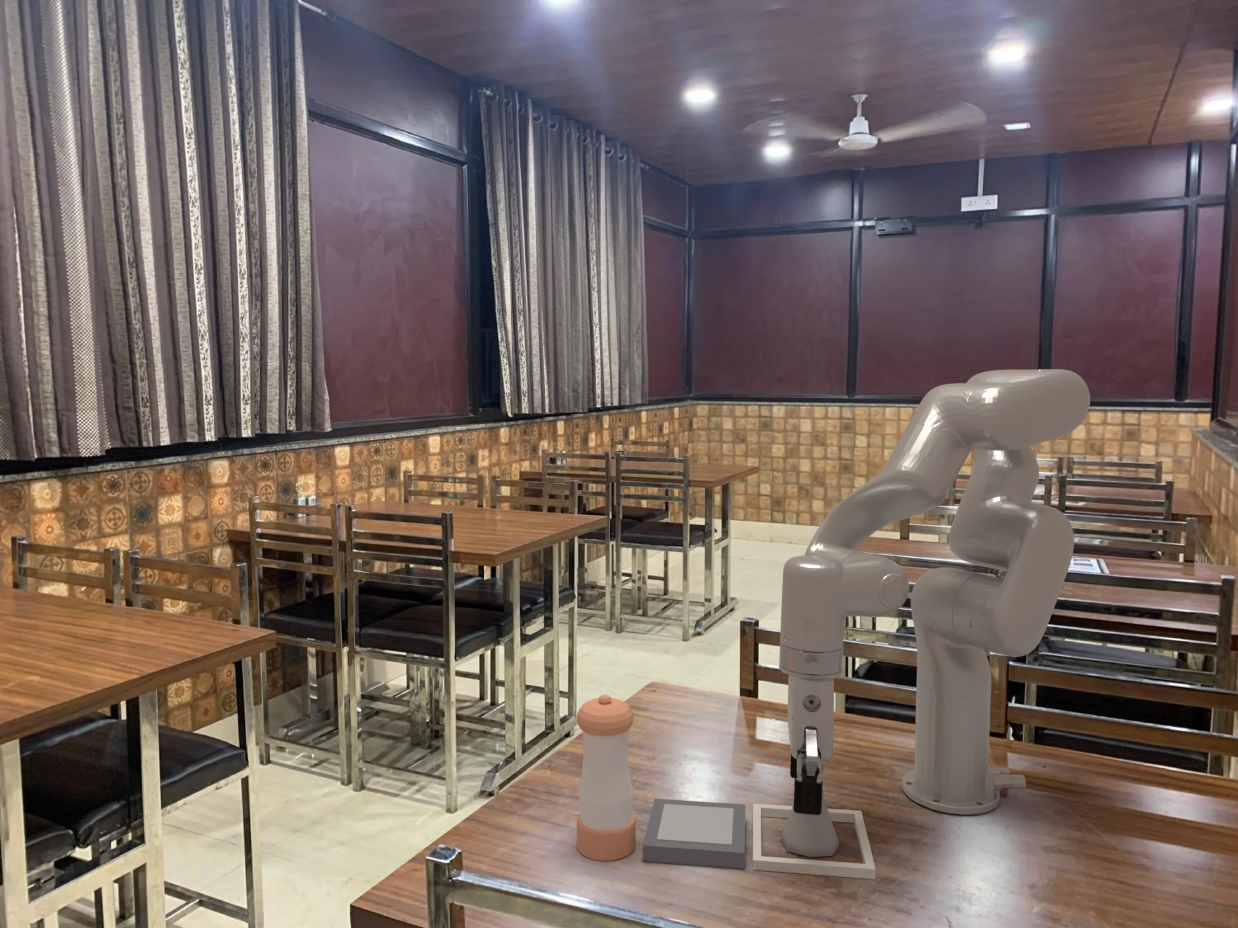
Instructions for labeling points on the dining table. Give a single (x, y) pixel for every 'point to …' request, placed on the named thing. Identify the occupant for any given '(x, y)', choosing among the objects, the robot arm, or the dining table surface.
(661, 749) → the dining table surface
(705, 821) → the slate pad
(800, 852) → the flask
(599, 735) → the salt shaker
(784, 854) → the dining table surface
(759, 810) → the tray frame
